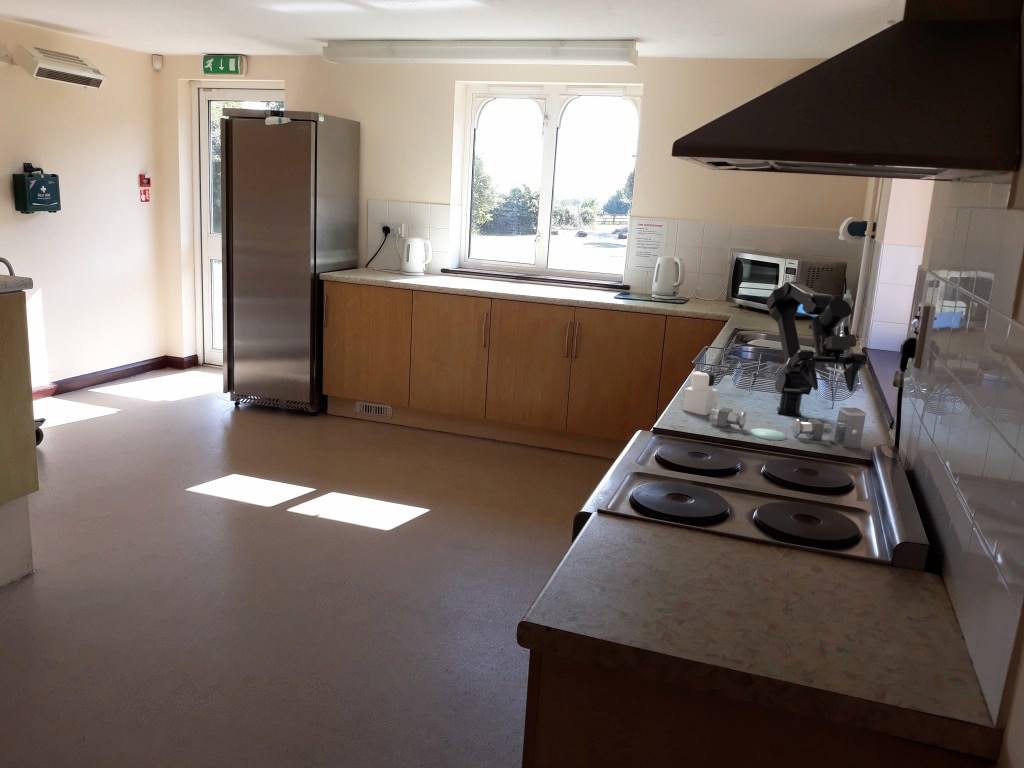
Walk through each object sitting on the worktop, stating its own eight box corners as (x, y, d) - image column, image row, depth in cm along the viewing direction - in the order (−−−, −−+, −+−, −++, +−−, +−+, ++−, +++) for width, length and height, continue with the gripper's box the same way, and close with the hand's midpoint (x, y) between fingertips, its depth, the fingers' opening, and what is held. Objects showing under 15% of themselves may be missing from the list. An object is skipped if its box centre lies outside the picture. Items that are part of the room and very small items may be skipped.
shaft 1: (744, 427, 213) (747, 410, 212) (740, 431, 210) (742, 414, 208) (712, 421, 217) (715, 404, 216) (707, 425, 214) (709, 407, 212)
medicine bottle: (692, 409, 233) (698, 367, 230) (715, 414, 229) (721, 372, 226) (680, 413, 228) (686, 371, 225) (704, 418, 223) (709, 376, 221)
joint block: (832, 444, 208) (838, 406, 205) (849, 445, 208) (855, 407, 206) (842, 451, 203) (849, 412, 200) (860, 452, 203) (867, 413, 201)
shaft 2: (796, 439, 206) (799, 421, 205) (790, 434, 211) (793, 416, 210) (830, 441, 206) (833, 424, 205) (823, 436, 211) (826, 419, 210)
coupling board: (708, 421, 221) (709, 416, 221) (825, 436, 214) (826, 432, 214) (707, 434, 208) (707, 429, 208) (831, 452, 201) (832, 447, 201)
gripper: (803, 319, 208) (812, 375, 202) (873, 324, 210) (884, 379, 204) (785, 340, 219) (793, 393, 212) (853, 344, 220) (862, 397, 214)
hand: (833, 390), depth 210 cm, fingers open, 9 cm apart
